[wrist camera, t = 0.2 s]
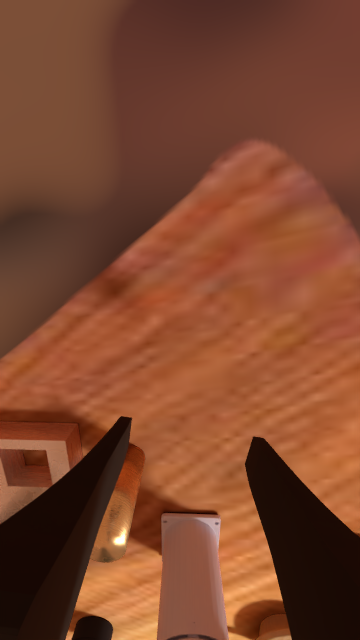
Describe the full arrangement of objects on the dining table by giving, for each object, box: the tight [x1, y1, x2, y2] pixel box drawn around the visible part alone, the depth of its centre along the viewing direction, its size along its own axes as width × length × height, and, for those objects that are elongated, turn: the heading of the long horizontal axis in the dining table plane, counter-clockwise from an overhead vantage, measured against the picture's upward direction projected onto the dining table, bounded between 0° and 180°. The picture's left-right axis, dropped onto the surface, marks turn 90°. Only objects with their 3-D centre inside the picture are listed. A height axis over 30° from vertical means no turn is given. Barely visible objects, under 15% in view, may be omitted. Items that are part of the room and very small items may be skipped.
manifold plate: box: [0, 421, 83, 524], centre depth 23 cm, size 16×10×2 cm, turn 179°
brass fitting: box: [90, 445, 145, 562], centre depth 20 cm, size 4×4×8 cm
